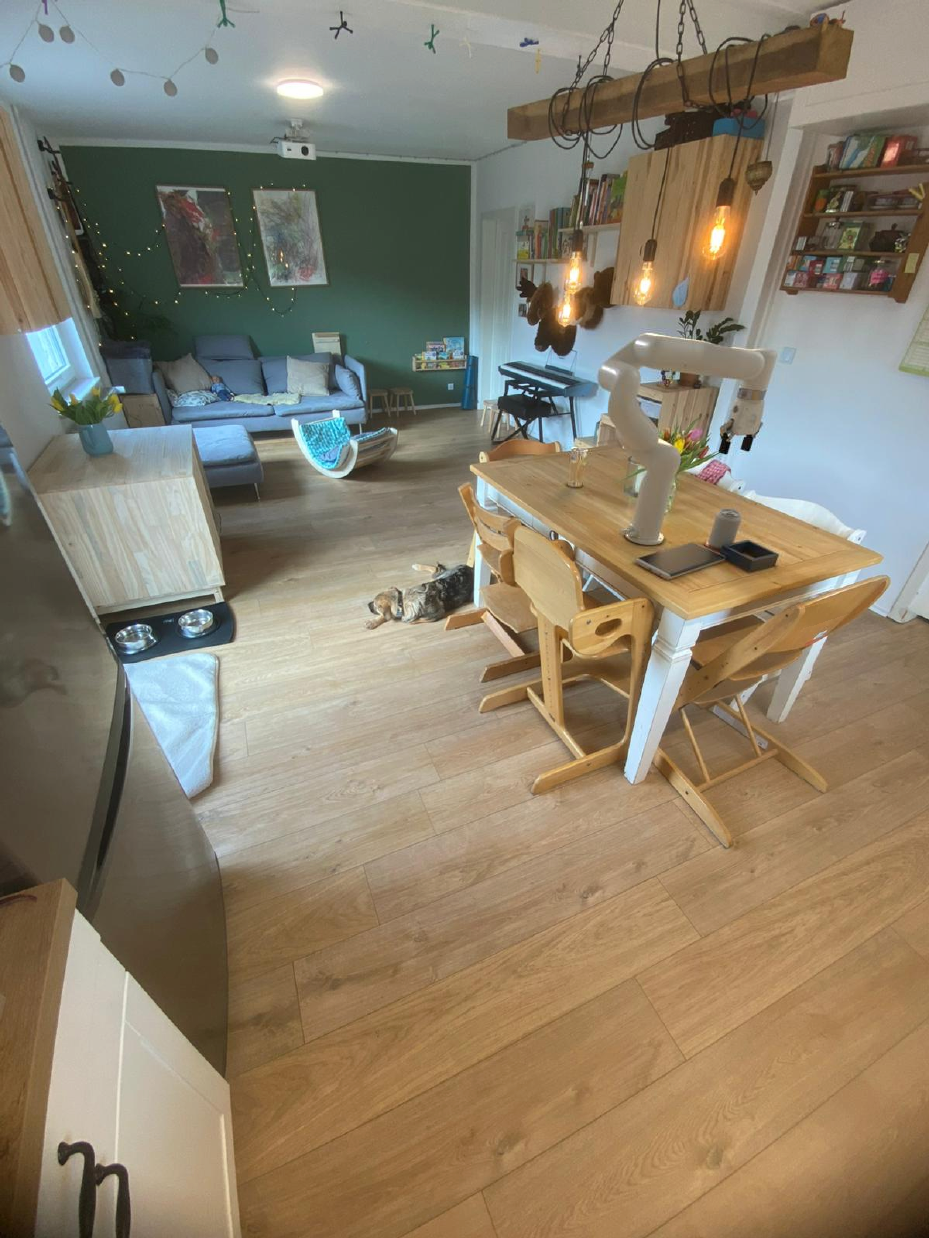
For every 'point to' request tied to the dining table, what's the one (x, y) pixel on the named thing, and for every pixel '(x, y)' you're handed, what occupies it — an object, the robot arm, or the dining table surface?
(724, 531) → the can
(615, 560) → the dining table surface
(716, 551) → the coaster
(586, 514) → the dining table surface
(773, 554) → the dark square tray
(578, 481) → the beer glass
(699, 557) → the smartphone
